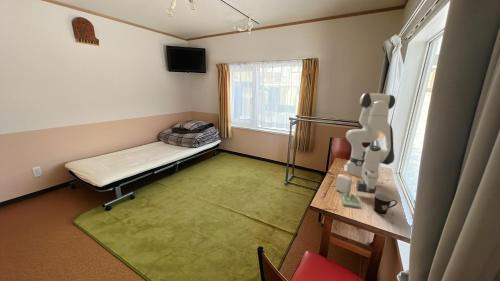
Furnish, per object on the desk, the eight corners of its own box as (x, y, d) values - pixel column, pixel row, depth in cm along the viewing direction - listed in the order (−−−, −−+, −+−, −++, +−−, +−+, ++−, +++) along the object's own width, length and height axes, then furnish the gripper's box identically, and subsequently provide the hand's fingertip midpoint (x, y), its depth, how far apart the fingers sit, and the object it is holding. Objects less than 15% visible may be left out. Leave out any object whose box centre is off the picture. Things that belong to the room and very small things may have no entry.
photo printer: (334, 189, 145) (336, 173, 142) (338, 187, 147) (340, 172, 144) (347, 195, 136) (349, 179, 133) (350, 194, 139) (353, 178, 135)
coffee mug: (371, 212, 118) (374, 198, 116) (372, 205, 125) (375, 191, 123) (394, 220, 112) (398, 204, 109) (394, 212, 119) (398, 197, 116)
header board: (339, 194, 138) (340, 188, 137) (355, 196, 136) (356, 190, 134) (343, 205, 125) (344, 198, 124) (360, 208, 123) (361, 201, 121)
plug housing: (355, 187, 139) (357, 180, 138) (372, 190, 137) (374, 182, 135) (357, 191, 135) (359, 183, 133) (374, 194, 132) (376, 186, 130)
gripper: (361, 163, 141) (357, 180, 145) (368, 175, 123) (364, 195, 127) (370, 164, 140) (367, 181, 144) (379, 177, 121) (375, 196, 125)
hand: (365, 188), depth 135 cm, fingers closed on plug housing, 5 cm apart
